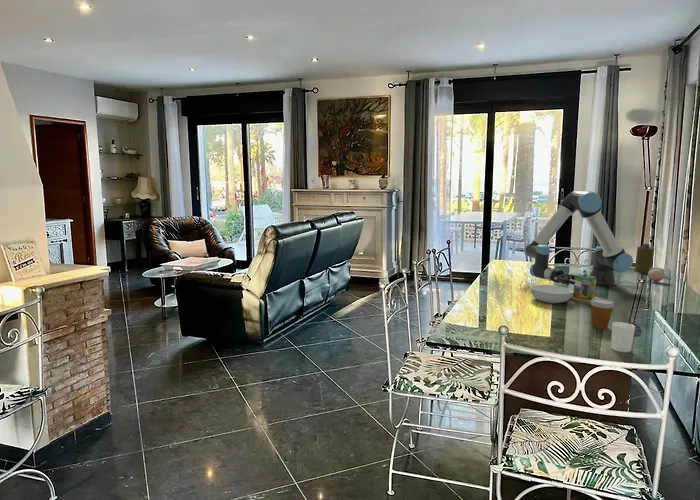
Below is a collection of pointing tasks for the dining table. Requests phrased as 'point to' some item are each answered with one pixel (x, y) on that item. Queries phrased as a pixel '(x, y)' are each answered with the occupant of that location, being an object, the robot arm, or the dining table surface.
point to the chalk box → (585, 286)
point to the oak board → (581, 300)
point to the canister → (644, 258)
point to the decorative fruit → (656, 274)
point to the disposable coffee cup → (601, 312)
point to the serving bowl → (551, 293)
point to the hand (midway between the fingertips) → (588, 283)
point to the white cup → (622, 336)
